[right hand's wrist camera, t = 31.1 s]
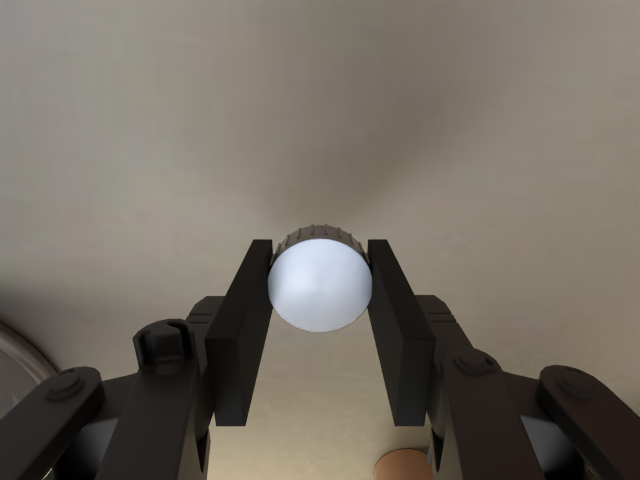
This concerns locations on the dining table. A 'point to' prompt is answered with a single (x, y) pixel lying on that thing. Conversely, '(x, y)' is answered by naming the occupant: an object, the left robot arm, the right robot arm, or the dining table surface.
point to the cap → (320, 279)
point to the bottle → (403, 466)
